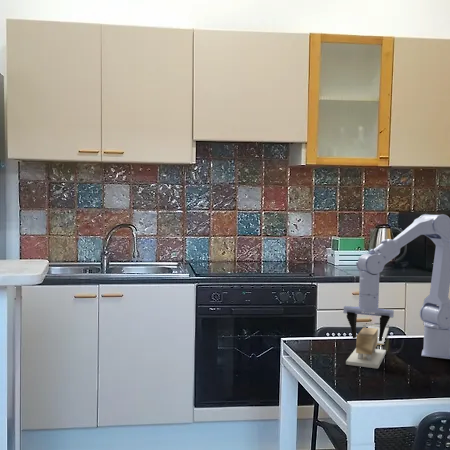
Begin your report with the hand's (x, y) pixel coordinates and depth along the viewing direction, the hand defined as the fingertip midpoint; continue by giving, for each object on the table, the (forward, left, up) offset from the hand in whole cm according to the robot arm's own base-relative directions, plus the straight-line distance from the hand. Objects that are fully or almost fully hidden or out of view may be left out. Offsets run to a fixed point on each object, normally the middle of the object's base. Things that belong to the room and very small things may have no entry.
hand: (367, 339), depth 170 cm
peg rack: (0, 0, -6) cm, 6 cm away
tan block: (0, 0, -3) cm, 3 cm away
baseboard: (+3, -35, -7) cm, 35 cm away
